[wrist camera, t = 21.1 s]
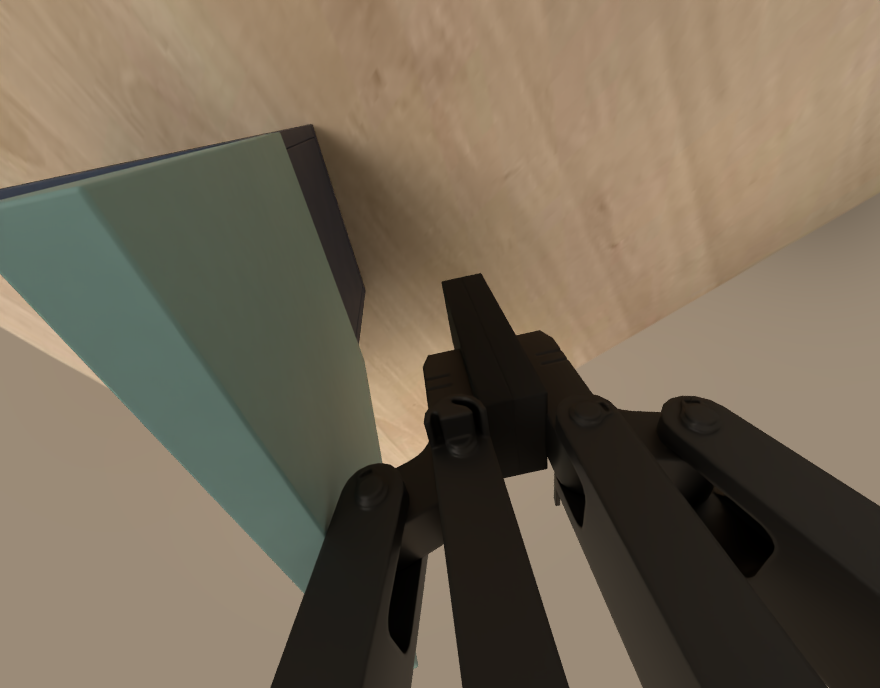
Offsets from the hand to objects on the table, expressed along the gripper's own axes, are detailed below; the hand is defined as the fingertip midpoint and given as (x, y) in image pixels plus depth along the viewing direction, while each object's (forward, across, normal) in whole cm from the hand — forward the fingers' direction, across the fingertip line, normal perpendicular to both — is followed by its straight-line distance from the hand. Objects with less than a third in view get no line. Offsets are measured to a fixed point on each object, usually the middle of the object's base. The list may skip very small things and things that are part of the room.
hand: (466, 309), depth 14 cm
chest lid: (0, -6, 0) cm, 6 cm away
